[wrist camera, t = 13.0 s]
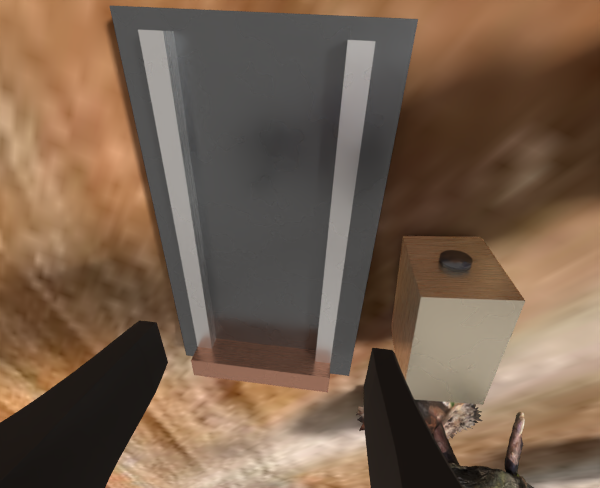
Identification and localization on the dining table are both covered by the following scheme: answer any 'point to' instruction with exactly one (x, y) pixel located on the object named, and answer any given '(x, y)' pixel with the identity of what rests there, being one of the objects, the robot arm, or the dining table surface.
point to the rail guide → (266, 176)
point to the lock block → (451, 317)
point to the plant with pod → (456, 416)
